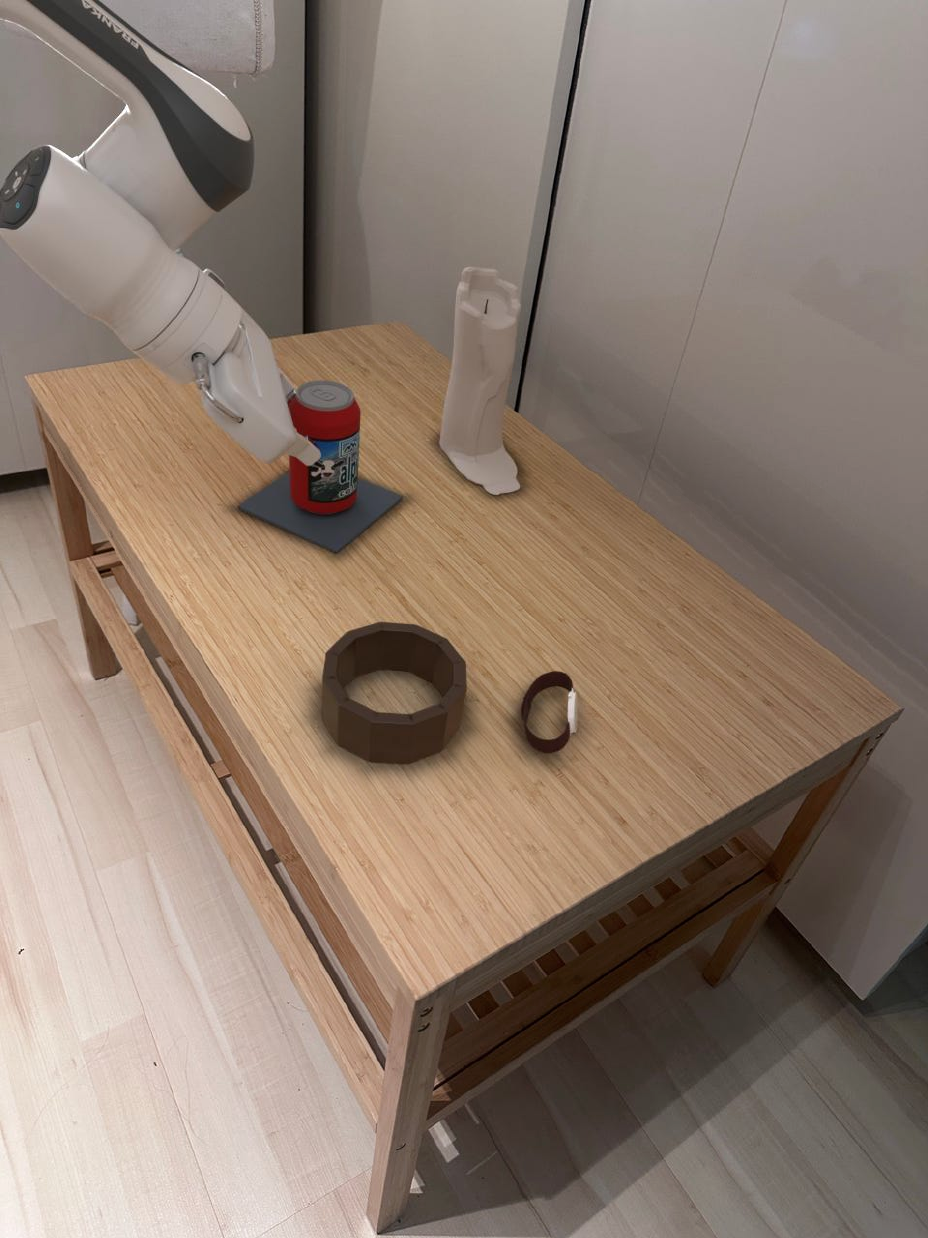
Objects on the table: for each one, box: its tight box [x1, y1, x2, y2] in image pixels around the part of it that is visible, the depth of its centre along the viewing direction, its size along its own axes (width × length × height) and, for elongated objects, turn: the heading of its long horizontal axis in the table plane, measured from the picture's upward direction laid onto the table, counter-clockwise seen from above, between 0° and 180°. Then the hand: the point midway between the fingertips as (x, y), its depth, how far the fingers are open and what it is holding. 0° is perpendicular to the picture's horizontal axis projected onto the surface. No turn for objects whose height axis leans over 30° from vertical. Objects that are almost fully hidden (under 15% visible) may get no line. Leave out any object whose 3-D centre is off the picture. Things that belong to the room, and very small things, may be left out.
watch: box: [520, 670, 579, 754], centre depth 68 cm, size 8×5×4 cm, turn 170°
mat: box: [236, 471, 404, 555], centre depth 88 cm, size 12×12×1 cm
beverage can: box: [288, 379, 362, 515], centre depth 84 cm, size 7×7×12 cm
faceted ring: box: [320, 621, 467, 765], centre depth 67 cm, size 11×11×4 cm
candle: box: [439, 266, 522, 496], centre depth 92 cm, size 7×14×20 cm, turn 24°
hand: (307, 431), depth 82 cm, fingers open, 8 cm apart
